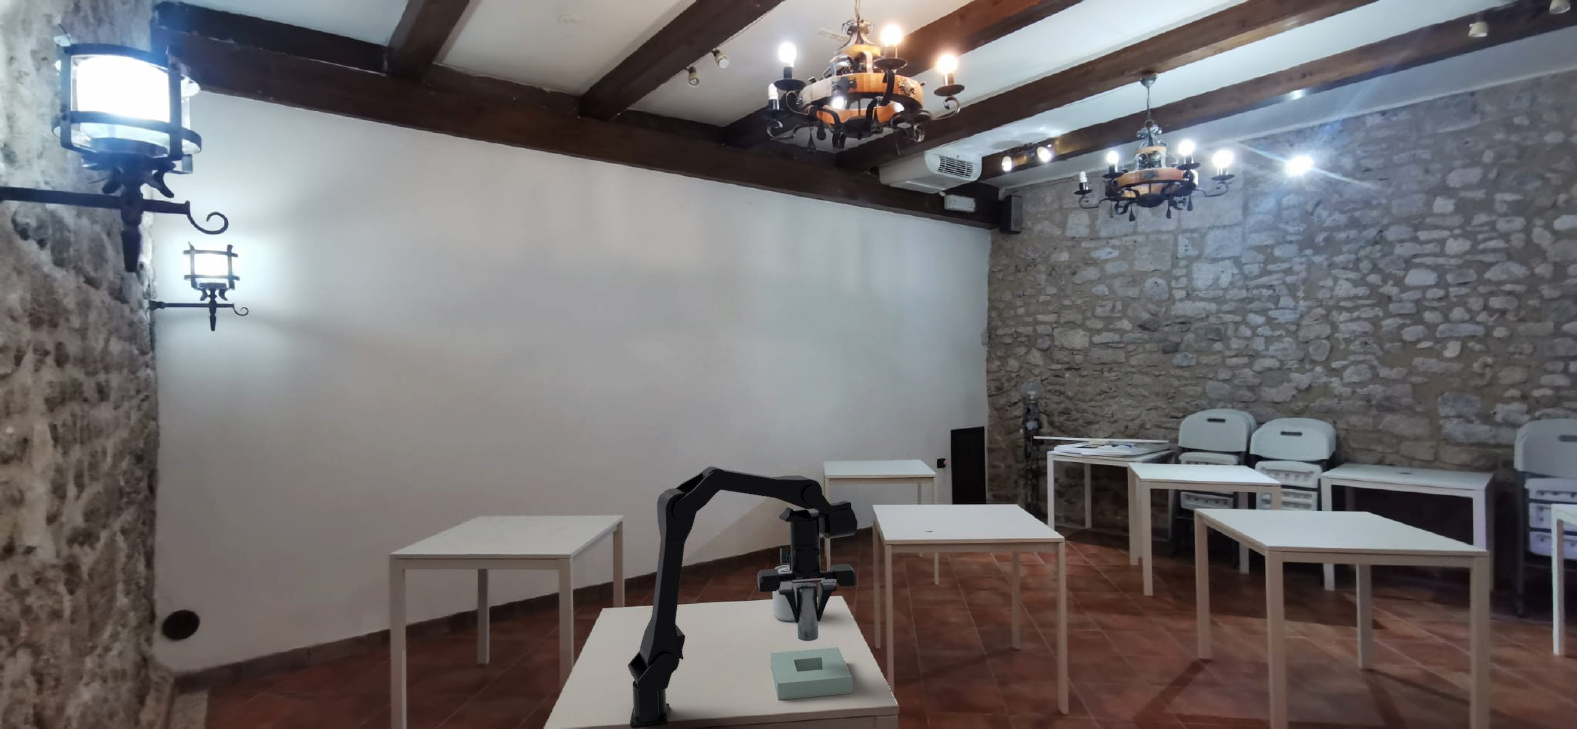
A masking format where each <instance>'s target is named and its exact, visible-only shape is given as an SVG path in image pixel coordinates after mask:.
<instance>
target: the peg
mask: <svg viewBox="0 0 1577 729" xmlns="http://www.w3.org/2000/svg"><path fill="white" fill-rule="evenodd" d="M796 594H797V612H798V623H796V624H797V639H798V640H800V641H804V642H812V641H816V640H818V638H819V622H818V608H817V603H818V584H816V583H815V582H805V583H800V584H798V585H796Z"/></svg>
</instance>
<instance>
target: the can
mask: <svg viewBox="0 0 1577 729" xmlns="http://www.w3.org/2000/svg"><path fill="white" fill-rule="evenodd" d="M774 569H777V570H778V573H779V574H787V573H791V571H790V569H789V564H782V565H779V566H776V567H775V568H774ZM798 584H800V583H793V589H794V591H795V598H796V605H797V594H796V585H798ZM772 613H773V616H774V617H775V618H776V619H777V620H779V621H780V622H793V621H795V619H794V616H793V613H792V610H791V607H790V604H789V602H788V601H787V599H786V597H785V595H780V594H779V592H778V590H777V591H772Z"/></svg>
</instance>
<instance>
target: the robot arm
mask: <svg viewBox="0 0 1577 729" xmlns="http://www.w3.org/2000/svg"><path fill="white" fill-rule="evenodd" d="M720 491H727V492H734V493H740V494H745V495H746V494H747V495H751V496H752V495H753V496H758V497H765V498H767V497H768V498H774V499H777V500H780V501H782V502H786V503H788V504H791V505H794V506H796V507H799V508H802V509H798V510H794V509H793V508H792V507H789V506H788V507H786V508H785V510H784V511H783V512H782V513H780V515H779V516H778V518H779V519H780V520H782V521H783V522H785V523H789V534H790V538H789V539H790V547H780V548H779V551H780V552H779V559H780V566H782V565H789V569H790V571H791V573H787V574H779V573H778V570H777V569H775V568H769V569H760V570H758V572H757V585H758V590H759V592H762V593H768V592H770V593H771V592H772V593H773V591H777V590H778V592H779V594H780V595H785V597H786V599H787V601H788V602H789V604H790V607H791V610H792V613H793V616H794V619H795V624H797V623H798V612H797V605H796V598H795V591H794V589H793V583H816V582H817V608H818V623H820V622H821V621H822V617H823V614H824V612H825V608H826V606H827V603H828V601H829V600H830V597H831V595H832V593H833V592H837V591H838V587H837V585H836V584H838V586H839V587H842V588H843V587H853V586H854V587H855V586H856V585H857V575H856V574H857V573H856V572H855V570H854V568H853V567H852V566H851V565H850V564H849V563H844V564H842V563H841V564H831V565H830V566H831V567H830V570H821V567H822V565H821V543H820V542H821V539H820V534H821V535H823V537H824V538H825V539H834V538H841V537H842V538H843V537H850V536H854V535H856V533H857V531H858V524H859V523H858V520H857V517H856V514H855V511H854V509H853V508H852V502H850V501H849V500H841V501H839V502H832V503H830V502H829V501H828V499H827V498H826V497H825V495H824V494H823V487H822V486H821V483H820V482H818V481H817V480H815V479H812V478H810V477H809V478H808V477H806V476H803V475H796V474H795V475H782V476H766V475H761V474H754V473H748V472H742V471H736V470H730V469H724V468H719V467H717V466H708V467H706V468H705V469H703V470H702V471H701V472H699V473H698V474H696V475H695V476H693V477H691V478H689V479H687V480H685V481H683V482H682V483H680V484H679V485H678V486H676V487H673V488H669V489H666V490H664V491H663V492H662V493H660V495H659V497H658V499H657V502H656V511H657V512H656V513H657V523H658V524H657V525H658V530H659V536H660V542H659V551H658V552H659V553H658V560H657V569H656V577H655V587H654V594H653V600H652V604H653V605H652V610H651V611H652V612H651V616H650V619H649V621H648V624H647V625H646V628H645V629H644V632H643V636H642V640H641V642H640V645H639V650H638V652H637V653H636V654H635V656H633V658H632V659H631V660H630V661H629V663H628V664H627V667H628V670H629V672H630V675H631V676H632V678H633V681H632V700H633V701H632V704H633V705H632V710H631V716H630V720H629V721H630V722H629V726H630V727H639V726H650V725H651V726H652V725H660V724H661V725H662V724H667V723H668V722H669V715H670V703H669V702H668V703H667V692H666V690H667V689H668V687H669V684H670V682H671V681H670V680H671V677H672V674H673V673H675V671H677V670H678V668H679V665H680V660H684V659H685V658H684V655H683V649H684V645H685V641H686V635H685V634H684V633H683V631H682V630H681V629H680V627H679V625H677V622H676V620H677V615H678V614H677V611H678V604H679V596H680V585H681V579H682V578H681V577H682V569H683V561H684V559H683V558H684V552H685V544H686V541H687V539H688V537H689V536H690V533H691V532H692V529H693V526H694V523H695V520H696V519H695V518H696V516H697V515H696V514H697V512H699V511H700V510H701V509H702V508H704V507H705V506H707V504H708V503H709V502H710V501H711V499H713V497H714V496H716V494H718V493H719V492H720ZM809 510H815V511H816V512H814V511H813V512H810V511H809Z"/></svg>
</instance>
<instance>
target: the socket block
mask: <svg viewBox="0 0 1577 729" xmlns="http://www.w3.org/2000/svg"><path fill="white" fill-rule="evenodd" d="M770 670H771V675H772V677H773V678H772V679H773V683H774V688H775V691H776V692H775V693H776V696H777V700H778V701H779V700H780V701H781V700H791V699H801V698H813V697H814V698H815V697H821V696H822V697H823V696H834V695H844V694H853V693H854V690H853V687H854V686H853V675H852V673H851V672H850V670H849V668H848V665H847V663H846V661H845V659H844V656H843V654H842V652H841V650H840V648H839V647H828V648H827V647H826V648H825V647H823V648H812V649H803V650H801V649H800V650H789V651H779V652H778V651H777V652H770Z"/></svg>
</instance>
